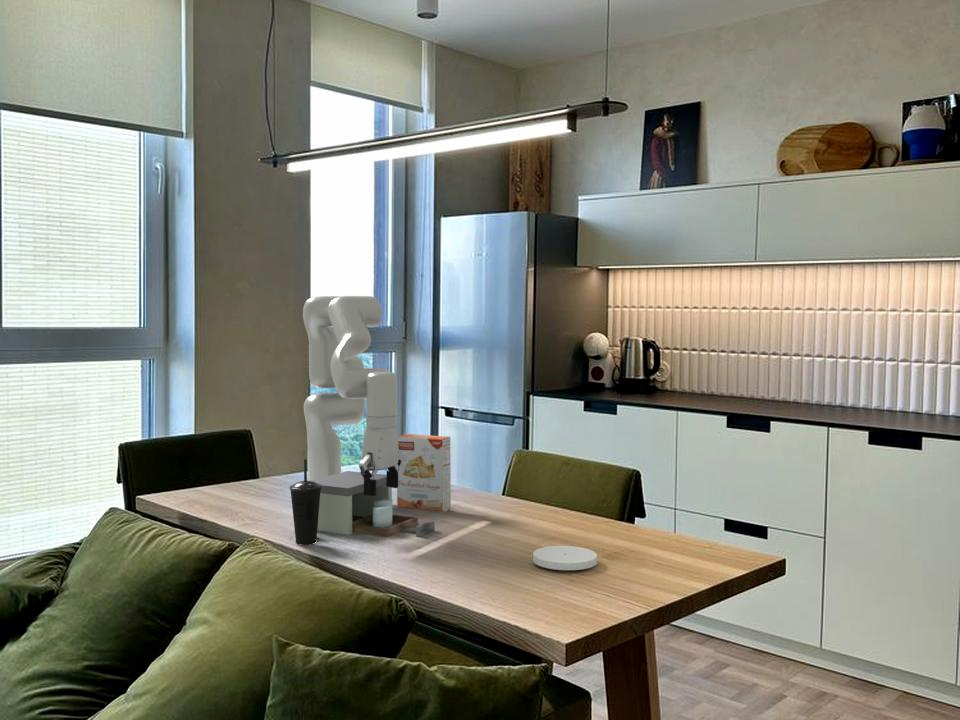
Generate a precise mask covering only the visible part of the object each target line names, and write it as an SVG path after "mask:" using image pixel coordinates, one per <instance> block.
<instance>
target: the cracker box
mask: <svg viewBox="0 0 960 720" xmlns="http://www.w3.org/2000/svg"><path fill="white" fill-rule="evenodd" d="M398 443H399V450H400V451H401V452H402V453H403V455H402V459H401V464H400V466H399V468H400V470H399V472H398V488H396V494H397V495H396V497H397V498H396V500H397V501H396V505H397V507H399V508H406V509H407V508H408V509H419V510H430V511H440V512H447V513H448V512H450V511H451V507H452V505H451V503H452V502H451V501H452V500H451V498H452V494H451V492H452V491H451V489H452V488H451V485H452V484H451V478H452V477H451V475H452V474H451V469H452V468H451V467H452V466H451V464H452V463H451V437H450V436H446V435H445V436H442V435H428V434H414V433H405V434H400V435H398Z"/></svg>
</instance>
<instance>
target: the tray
mask: <svg viewBox="0 0 960 720" xmlns="http://www.w3.org/2000/svg"><path fill="white" fill-rule="evenodd" d="M435 522H436V521H435V520H428V521H427V522H423V523H421V524H419V518H418V517H415V516H408V515H402V514H394V513H393V524H392V526H391V527H388V528H380V527H373V515H370V516H367V517H362V518H359V519H356V520H352V533H356V534H361V535H362V534H363V535H368V536H376V537H377V536H378V537H384V538H388V537H391V536H393V535H395V534H398V533H400V532H401V533H407V534H415V537H416V538H420V537H423V536H425V535H428V534H430V533H432V532H435V529H436V527H435ZM418 524H419V525H418ZM413 527H415V528H413Z"/></svg>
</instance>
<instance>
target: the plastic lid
mask: <svg viewBox="0 0 960 720" xmlns="http://www.w3.org/2000/svg"><path fill="white" fill-rule="evenodd" d="M532 562H533V563H534V564H535V565H537V566H539V567H541V568H546V569H549V570H557V571H579V570H586V569H590V568H593V567H595V566H597V564H598V554H597V552H596V551H593V550H591V549H588V548H585V547H579V546H573V545H571V546H570V545H552V546H551V545H550V546H545V547H539V548H537V549H535V550H534V551H533V552H532Z"/></svg>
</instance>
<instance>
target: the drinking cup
mask: <svg viewBox="0 0 960 720" xmlns="http://www.w3.org/2000/svg"><path fill="white" fill-rule="evenodd" d="M321 488H322V485H321V484H318V483H316V482H313V481H308V459H303V480H300V481H297V482H295V483H293V484H291V485H290V486H289V487H288V489H289V490H290V498H291V507H292V508H291V509H292V517H293V527H294V538H295V544H296V543H297V544H296V545H298V544H302V545H301V546H309V544H311V545H314V544H313V543H315V542H316V543H317V538H318V530H317V529H318V516H319V504H320V491H321ZM316 543H315V544H316Z"/></svg>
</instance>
